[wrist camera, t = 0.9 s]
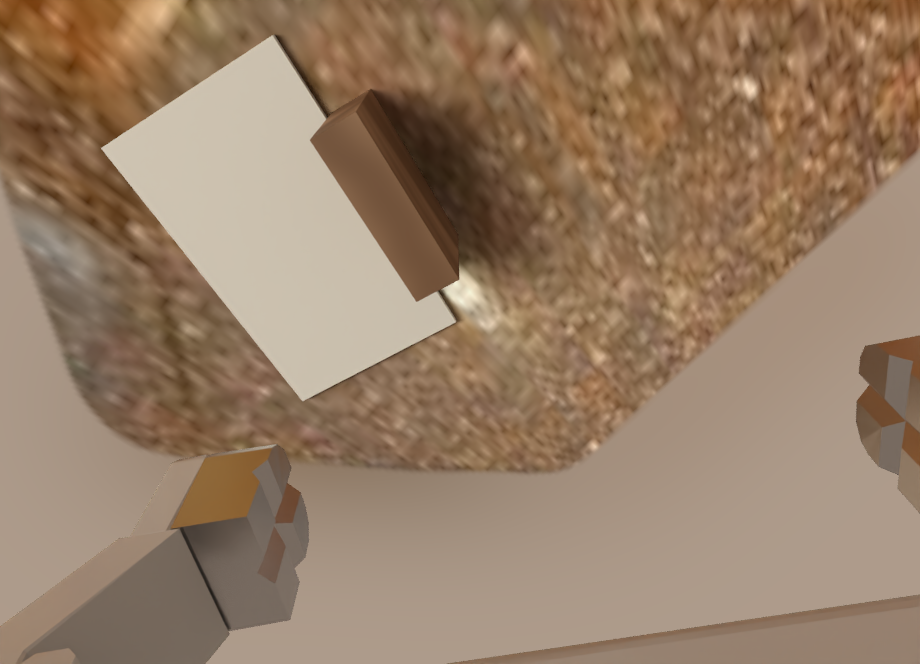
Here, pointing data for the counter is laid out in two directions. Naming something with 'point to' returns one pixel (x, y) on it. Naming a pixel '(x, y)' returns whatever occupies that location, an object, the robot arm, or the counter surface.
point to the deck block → (390, 194)
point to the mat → (273, 222)
